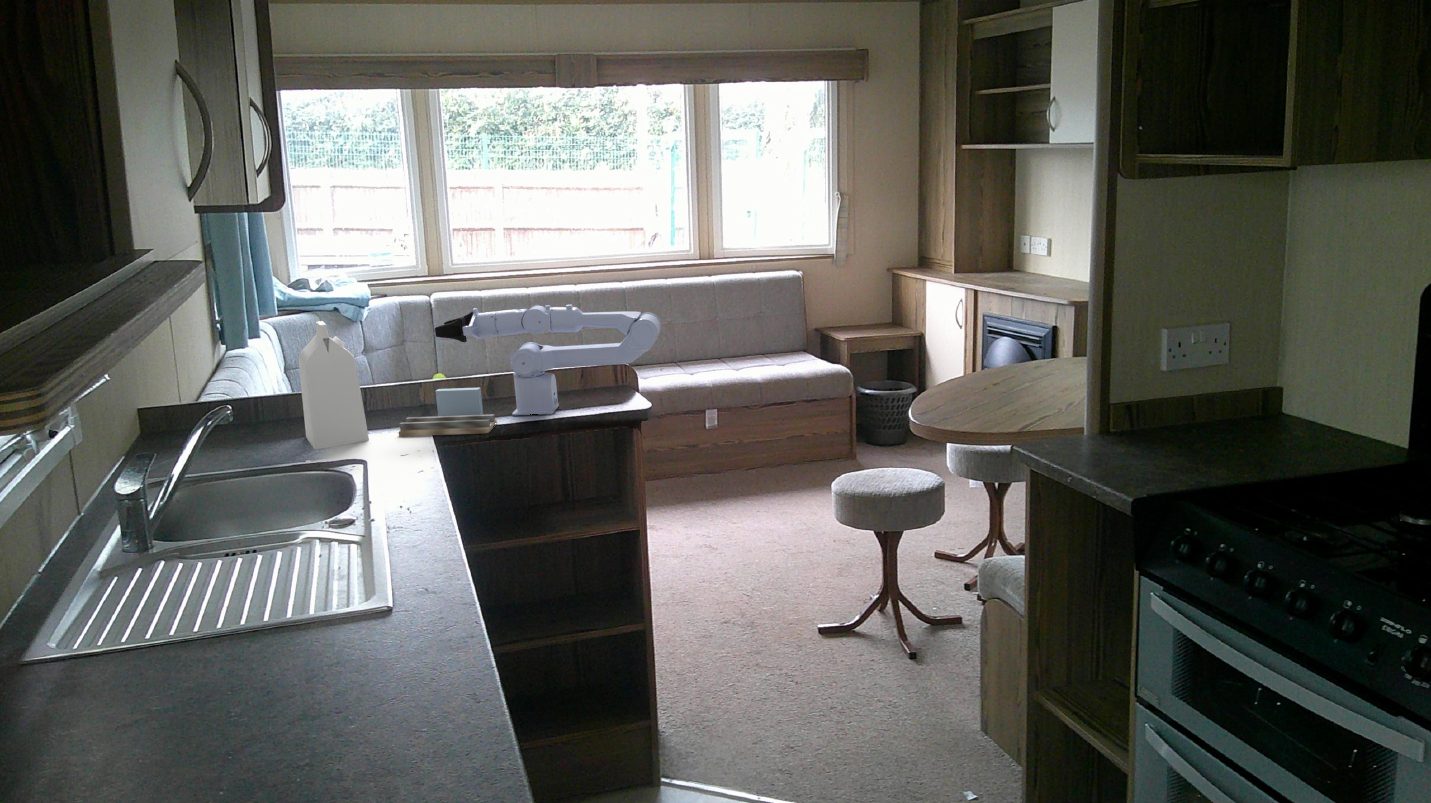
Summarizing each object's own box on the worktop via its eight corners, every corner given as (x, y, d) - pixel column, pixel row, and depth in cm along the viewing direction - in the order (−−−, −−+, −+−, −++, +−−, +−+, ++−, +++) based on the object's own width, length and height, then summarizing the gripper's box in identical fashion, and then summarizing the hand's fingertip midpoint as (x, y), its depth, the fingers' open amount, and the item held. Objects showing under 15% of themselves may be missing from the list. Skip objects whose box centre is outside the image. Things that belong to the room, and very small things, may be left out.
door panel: (483, 416, 265) (480, 387, 264) (481, 419, 263) (478, 389, 262) (441, 418, 266) (438, 389, 264) (438, 420, 264) (435, 391, 262)
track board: (497, 423, 258) (495, 412, 258) (487, 433, 250) (486, 422, 250) (410, 426, 260) (409, 415, 259) (398, 436, 252) (397, 425, 251)
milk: (306, 437, 256) (289, 322, 249) (358, 428, 261) (343, 316, 254) (314, 449, 245) (297, 330, 239) (369, 440, 250) (353, 323, 244)
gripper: (502, 302, 269) (446, 307, 270) (487, 311, 255) (428, 317, 256) (507, 331, 270) (451, 337, 271) (492, 342, 256) (433, 348, 257)
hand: (440, 329), depth 263 cm, fingers open, 7 cm apart
